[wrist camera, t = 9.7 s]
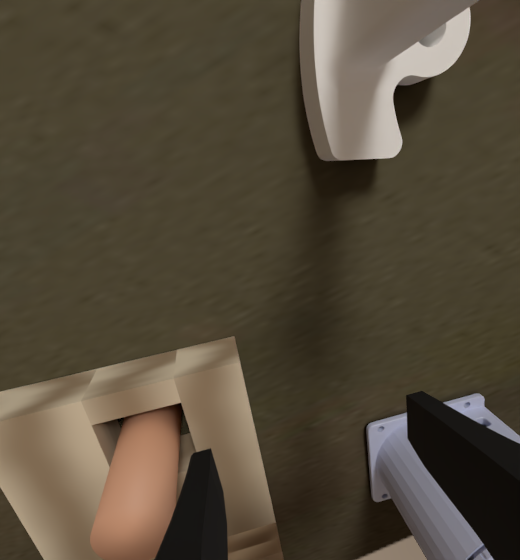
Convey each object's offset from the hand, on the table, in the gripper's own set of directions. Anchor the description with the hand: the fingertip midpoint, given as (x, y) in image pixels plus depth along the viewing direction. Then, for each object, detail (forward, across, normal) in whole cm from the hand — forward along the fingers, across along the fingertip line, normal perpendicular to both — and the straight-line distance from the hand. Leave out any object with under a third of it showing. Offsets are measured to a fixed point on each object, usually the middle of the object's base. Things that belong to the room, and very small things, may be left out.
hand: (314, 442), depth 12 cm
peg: (+10, +8, +4) cm, 13 cm away
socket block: (+10, +9, +8) cm, 16 cm away
